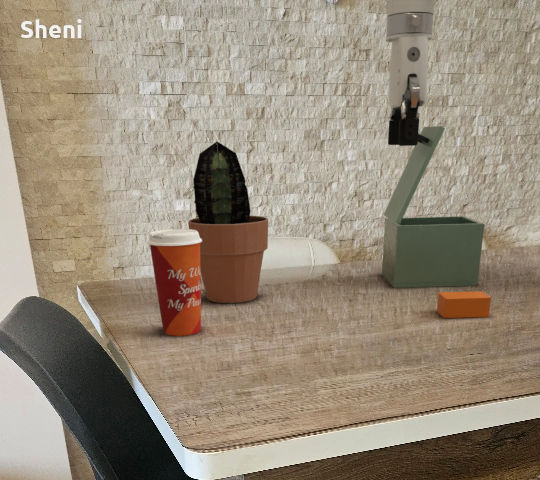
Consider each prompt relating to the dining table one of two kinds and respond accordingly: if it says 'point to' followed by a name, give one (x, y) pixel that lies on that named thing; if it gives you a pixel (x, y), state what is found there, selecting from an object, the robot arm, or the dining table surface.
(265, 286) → the dining table surface
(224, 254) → the potted plant
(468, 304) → the block
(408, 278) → the waste bin
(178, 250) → the paper cup
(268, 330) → the dining table surface
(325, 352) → the dining table surface
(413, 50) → the robot arm
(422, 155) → the bin lid
